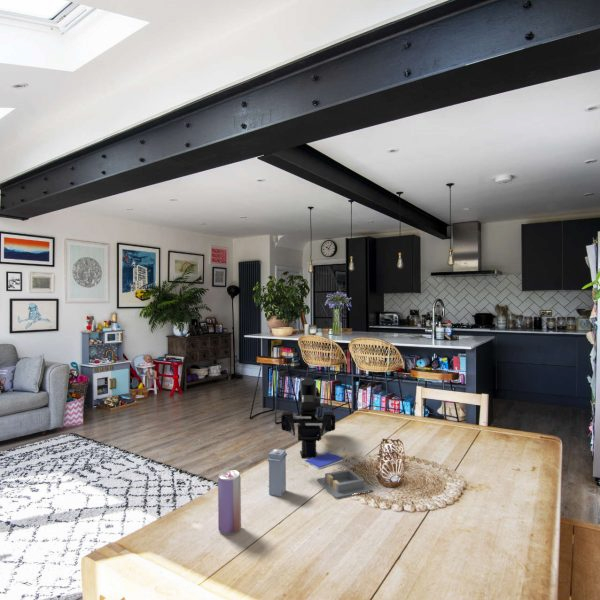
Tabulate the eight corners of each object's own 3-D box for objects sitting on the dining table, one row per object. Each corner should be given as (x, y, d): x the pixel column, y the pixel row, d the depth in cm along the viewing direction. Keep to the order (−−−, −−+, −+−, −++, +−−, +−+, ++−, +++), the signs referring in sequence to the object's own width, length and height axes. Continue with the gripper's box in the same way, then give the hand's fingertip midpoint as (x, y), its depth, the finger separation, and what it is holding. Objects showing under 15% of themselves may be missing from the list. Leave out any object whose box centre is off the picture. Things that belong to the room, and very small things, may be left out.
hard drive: (328, 451, 170) (304, 459, 162) (343, 457, 163) (318, 466, 156) (328, 455, 170) (304, 464, 162) (343, 462, 164) (318, 470, 156)
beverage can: (222, 538, 112) (221, 481, 112) (215, 527, 118) (215, 472, 117) (244, 532, 115) (243, 476, 115) (236, 521, 121) (236, 468, 120)
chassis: (317, 480, 146) (317, 471, 146) (351, 474, 151) (351, 465, 151) (336, 499, 133) (336, 489, 133) (372, 491, 138) (372, 482, 138)
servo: (275, 487, 142) (275, 445, 141) (287, 488, 140) (286, 446, 140) (267, 496, 135) (267, 452, 135) (279, 498, 134) (279, 453, 134)
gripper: (282, 390, 157) (279, 412, 142) (334, 390, 156) (336, 412, 141) (283, 418, 160) (280, 442, 145) (334, 418, 159) (336, 443, 144)
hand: (308, 434), depth 144 cm, fingers open, 9 cm apart
